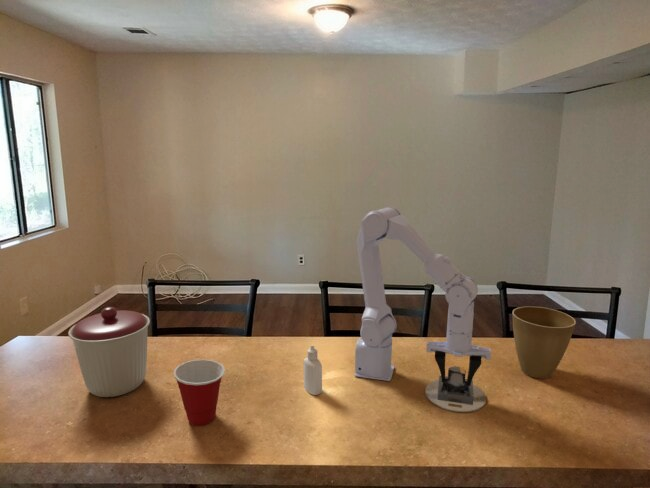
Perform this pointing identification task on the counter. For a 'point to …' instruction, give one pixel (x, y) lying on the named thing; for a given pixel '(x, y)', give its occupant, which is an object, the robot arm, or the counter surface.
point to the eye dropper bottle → (312, 372)
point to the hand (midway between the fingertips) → (455, 382)
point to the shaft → (456, 379)
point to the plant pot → (541, 339)
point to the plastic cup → (199, 389)
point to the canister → (112, 351)
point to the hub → (455, 397)
